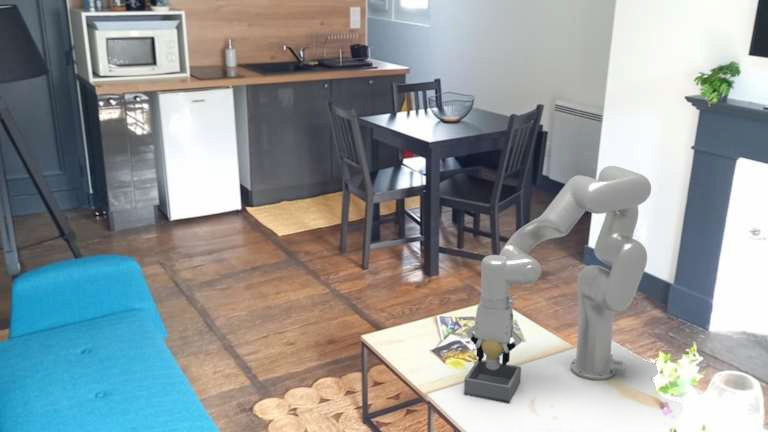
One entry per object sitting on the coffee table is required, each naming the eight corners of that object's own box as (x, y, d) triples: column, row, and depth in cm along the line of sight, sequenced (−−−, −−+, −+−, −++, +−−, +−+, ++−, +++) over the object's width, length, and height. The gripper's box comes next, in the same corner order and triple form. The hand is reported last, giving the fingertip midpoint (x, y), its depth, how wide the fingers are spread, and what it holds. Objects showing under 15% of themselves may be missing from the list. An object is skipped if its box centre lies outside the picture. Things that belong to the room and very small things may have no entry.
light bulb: (480, 372, 198) (480, 338, 195) (481, 361, 204) (482, 329, 201) (503, 374, 196) (504, 340, 194) (504, 363, 202) (505, 330, 200)
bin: (520, 382, 205) (520, 366, 204) (509, 403, 194) (509, 387, 193) (477, 374, 210) (477, 359, 209) (464, 394, 199) (464, 379, 198)
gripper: (529, 300, 195) (527, 361, 199) (468, 291, 201) (466, 350, 206) (523, 310, 188) (520, 373, 193) (459, 301, 195) (458, 362, 200)
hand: (492, 361), depth 200 cm, fingers closed on light bulb, 6 cm apart
